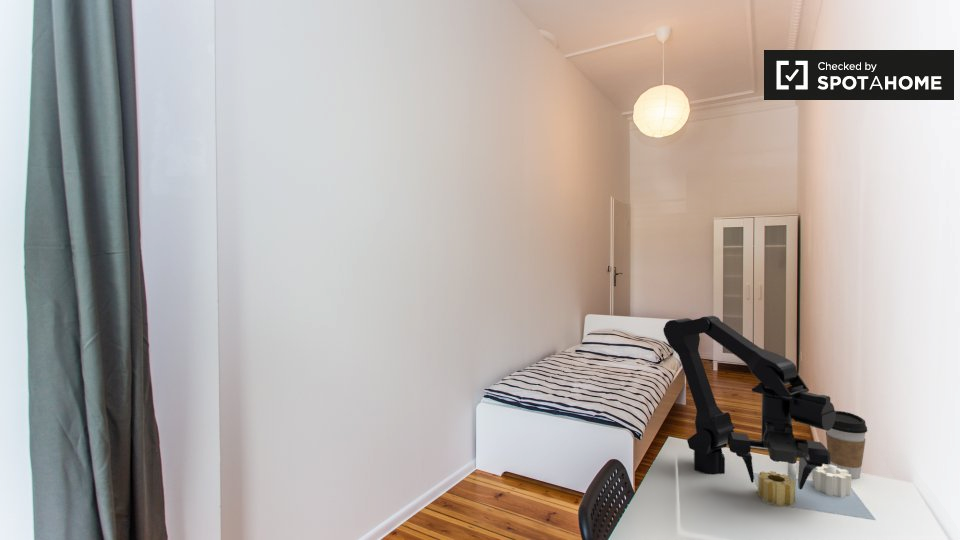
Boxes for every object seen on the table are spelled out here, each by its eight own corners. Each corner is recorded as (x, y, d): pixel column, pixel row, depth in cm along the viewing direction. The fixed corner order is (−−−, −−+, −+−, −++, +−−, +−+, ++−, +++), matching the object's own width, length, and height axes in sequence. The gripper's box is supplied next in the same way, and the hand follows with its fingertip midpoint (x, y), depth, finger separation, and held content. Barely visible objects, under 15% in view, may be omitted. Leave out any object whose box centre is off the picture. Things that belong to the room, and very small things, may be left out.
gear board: (763, 506, 104) (763, 477, 104) (751, 475, 118) (752, 450, 118) (876, 523, 97) (876, 493, 97) (849, 489, 111) (850, 462, 111)
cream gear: (827, 497, 106) (828, 478, 106) (805, 482, 113) (805, 464, 113) (858, 497, 106) (859, 477, 106) (834, 481, 113) (835, 463, 113)
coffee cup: (851, 469, 121) (852, 410, 120) (875, 485, 113) (876, 422, 112) (815, 468, 122) (816, 410, 121) (837, 484, 114) (838, 422, 113)
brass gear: (760, 502, 104) (761, 483, 104) (755, 487, 111) (755, 469, 111) (798, 508, 102) (798, 488, 102) (790, 493, 108) (790, 473, 108)
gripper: (733, 423, 102) (733, 495, 102) (839, 434, 95) (838, 511, 95) (727, 407, 112) (727, 472, 113) (822, 416, 105) (821, 485, 106)
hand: (775, 485), depth 106 cm, fingers open, 9 cm apart
